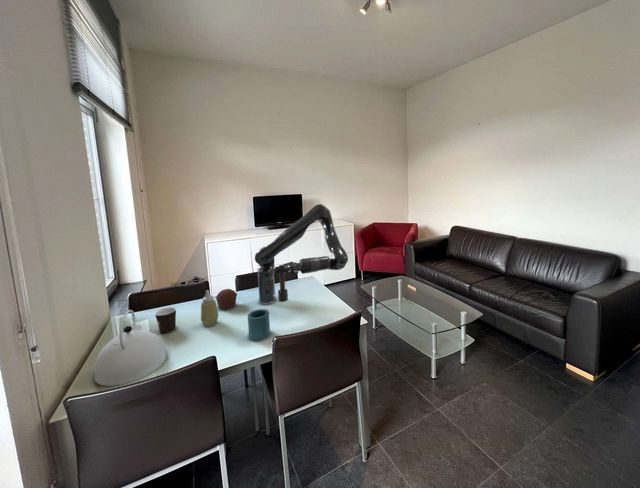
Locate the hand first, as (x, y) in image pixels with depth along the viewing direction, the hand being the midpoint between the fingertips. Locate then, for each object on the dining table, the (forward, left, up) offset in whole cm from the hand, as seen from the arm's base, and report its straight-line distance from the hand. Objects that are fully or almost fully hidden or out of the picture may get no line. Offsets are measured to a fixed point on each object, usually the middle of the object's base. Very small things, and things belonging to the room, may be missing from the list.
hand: (275, 270), depth 146 cm
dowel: (0, +3, -16) cm, 16 cm away
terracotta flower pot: (-37, -23, -30) cm, 53 cm away
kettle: (+4, -58, -30) cm, 66 cm away
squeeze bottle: (-19, -31, -30) cm, 48 cm away
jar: (+4, -9, -30) cm, 32 cm away
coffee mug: (-20, -50, -30) cm, 62 cm away
